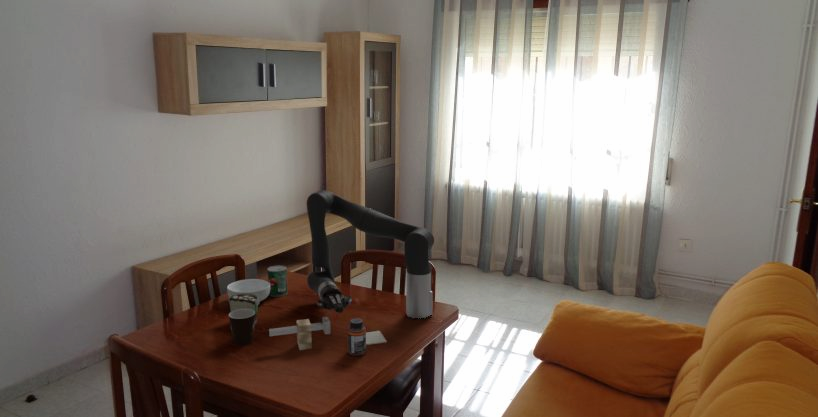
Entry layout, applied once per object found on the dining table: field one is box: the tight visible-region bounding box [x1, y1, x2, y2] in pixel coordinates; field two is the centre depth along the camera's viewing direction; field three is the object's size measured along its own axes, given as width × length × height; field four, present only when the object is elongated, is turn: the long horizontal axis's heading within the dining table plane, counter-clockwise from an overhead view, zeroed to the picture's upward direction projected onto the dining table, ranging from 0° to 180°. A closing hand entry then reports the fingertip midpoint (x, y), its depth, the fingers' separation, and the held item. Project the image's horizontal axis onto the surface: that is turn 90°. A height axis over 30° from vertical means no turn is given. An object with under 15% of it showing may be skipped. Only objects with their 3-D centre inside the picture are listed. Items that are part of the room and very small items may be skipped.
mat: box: [366, 330, 387, 346], centre depth 206 cm, size 9×9×1 cm
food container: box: [227, 293, 260, 327], centre depth 220 cm, size 12×6×10 cm, turn 71°
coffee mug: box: [228, 309, 255, 346], centre depth 204 cm, size 12×9×10 cm
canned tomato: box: [266, 264, 289, 298], centre depth 248 cm, size 8×8×11 cm
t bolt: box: [268, 316, 331, 337], centre depth 198 cm, size 20×4×4 cm, turn 109°
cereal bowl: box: [226, 278, 270, 302], centre depth 239 cm, size 17×17×7 cm
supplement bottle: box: [347, 317, 367, 357], centre depth 195 cm, size 6×6×11 cm
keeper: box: [296, 318, 313, 351], centre depth 199 cm, size 4×5×9 cm
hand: (340, 310), depth 207 cm, fingers closed
